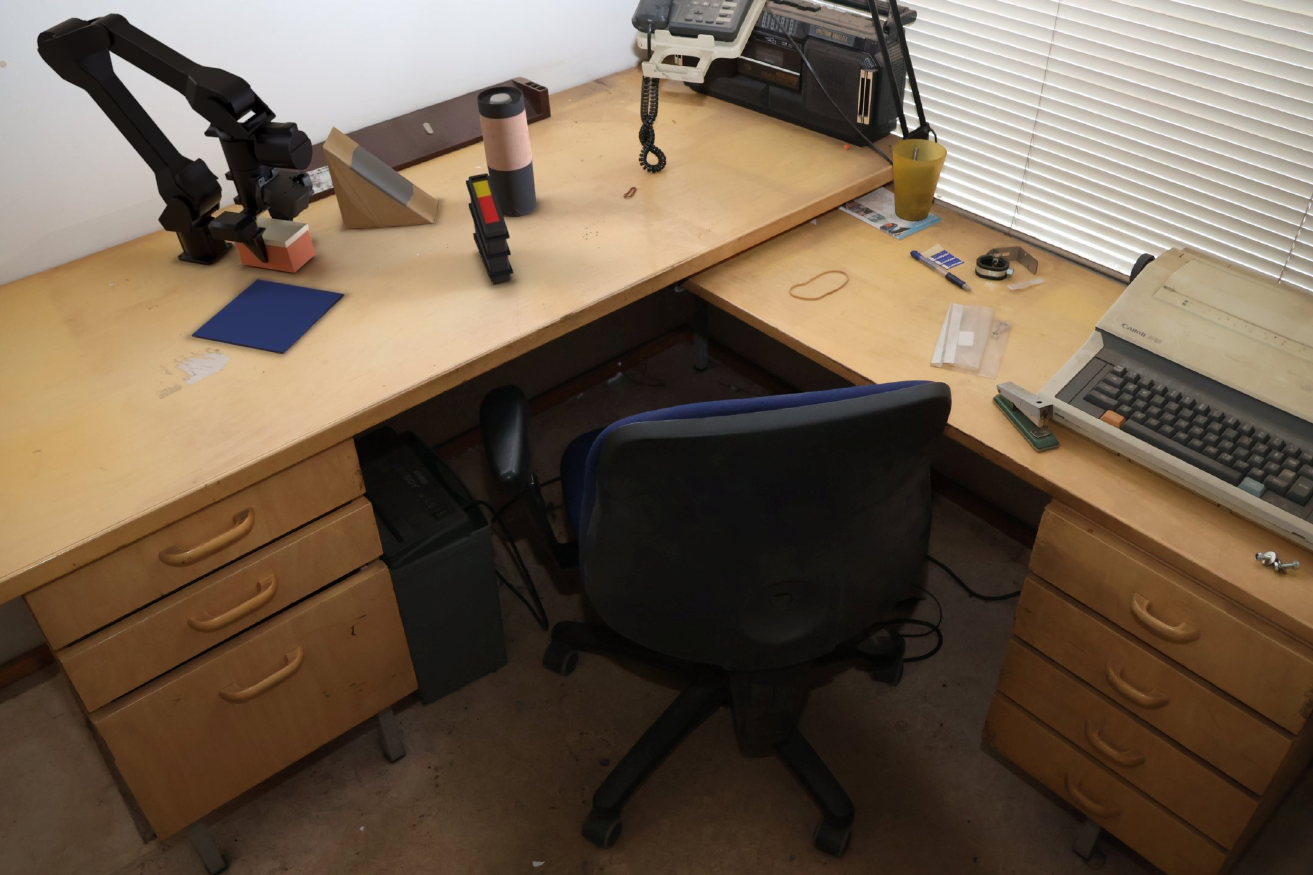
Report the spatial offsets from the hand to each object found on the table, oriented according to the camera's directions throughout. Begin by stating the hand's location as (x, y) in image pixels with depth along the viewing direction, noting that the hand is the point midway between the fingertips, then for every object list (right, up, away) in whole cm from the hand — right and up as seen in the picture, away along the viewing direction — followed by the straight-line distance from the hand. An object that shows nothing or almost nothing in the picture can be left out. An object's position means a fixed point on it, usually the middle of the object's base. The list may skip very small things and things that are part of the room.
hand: (277, 252), depth 163 cm
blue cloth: (+3, -11, -11) cm, 16 cm away
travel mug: (+37, +10, +12) cm, 40 cm away
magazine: (+36, -4, -4) cm, 37 cm away
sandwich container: (+16, +9, +12) cm, 22 cm away
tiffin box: (0, -1, +1) cm, 1 cm away
